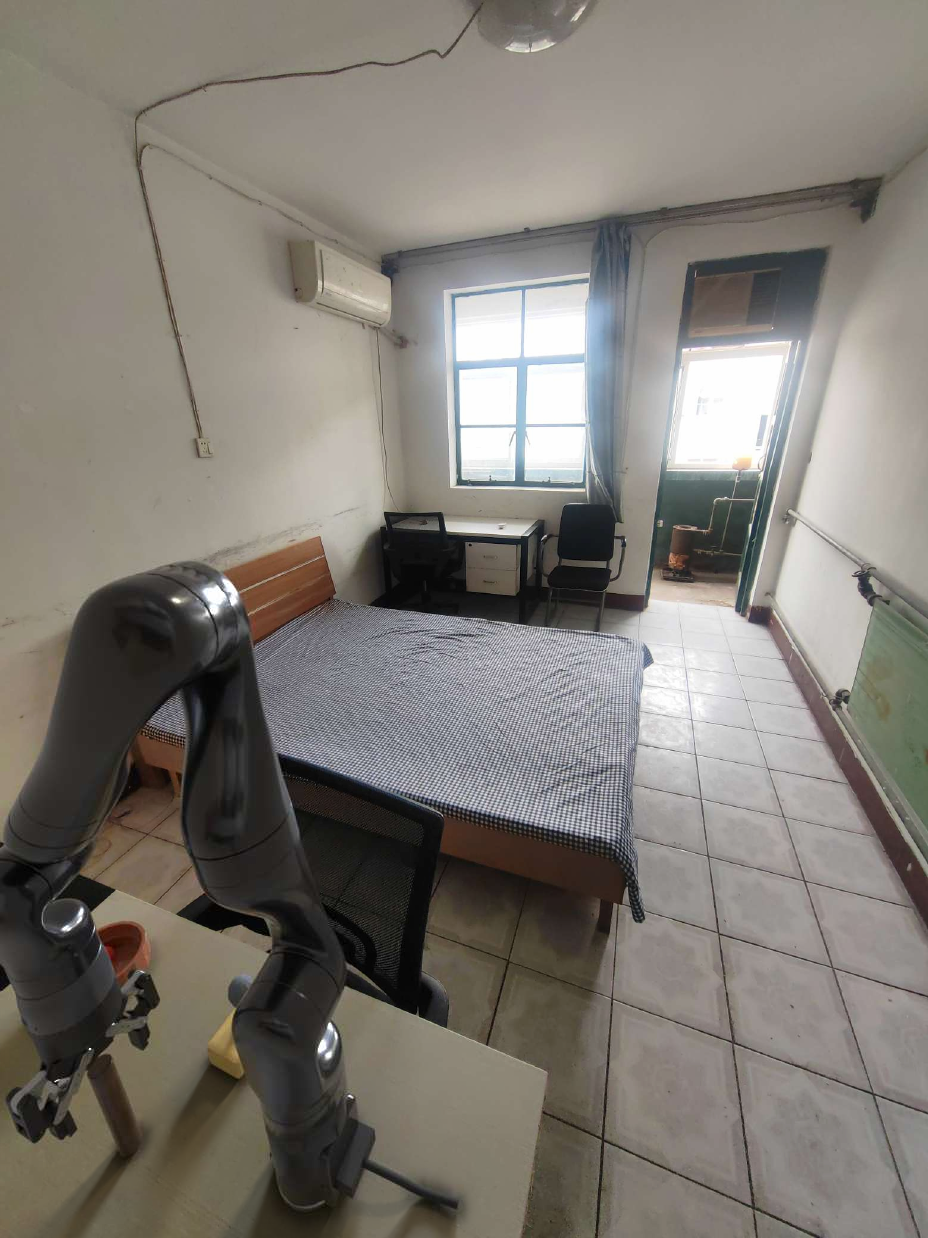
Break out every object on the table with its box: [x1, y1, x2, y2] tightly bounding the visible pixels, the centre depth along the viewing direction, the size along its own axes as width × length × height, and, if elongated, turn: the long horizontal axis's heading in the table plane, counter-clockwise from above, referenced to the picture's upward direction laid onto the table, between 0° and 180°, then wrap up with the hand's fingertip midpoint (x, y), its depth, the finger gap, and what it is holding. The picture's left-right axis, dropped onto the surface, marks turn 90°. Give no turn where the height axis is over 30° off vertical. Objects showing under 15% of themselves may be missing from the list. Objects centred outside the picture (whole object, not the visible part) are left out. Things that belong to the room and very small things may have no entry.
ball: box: [105, 946, 114, 961], centre depth 80 cm, size 3×3×3 cm
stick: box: [86, 1053, 143, 1158], centre depth 57 cm, size 2×2×16 cm
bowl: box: [96, 920, 152, 989], centre depth 78 cm, size 12×12×5 cm
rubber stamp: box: [206, 973, 254, 1080], centre depth 69 cm, size 10×6×12 cm, turn 160°
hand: (107, 1085), depth 56 cm, fingers open, 8 cm apart
